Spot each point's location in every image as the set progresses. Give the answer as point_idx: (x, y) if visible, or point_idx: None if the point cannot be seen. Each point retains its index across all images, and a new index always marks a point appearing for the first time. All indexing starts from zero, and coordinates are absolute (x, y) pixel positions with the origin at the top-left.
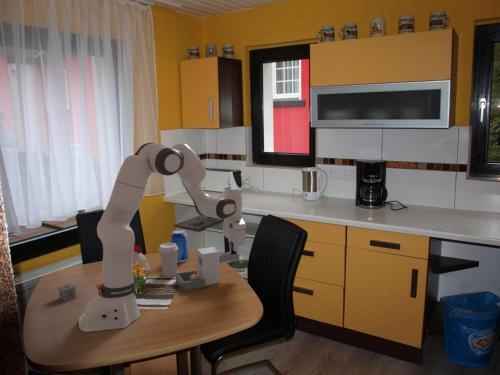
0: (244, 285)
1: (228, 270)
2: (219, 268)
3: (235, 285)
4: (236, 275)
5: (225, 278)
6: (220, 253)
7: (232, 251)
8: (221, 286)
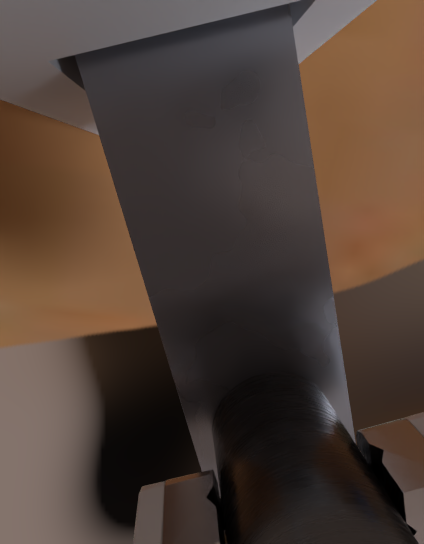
0: (15, 338)
1: (374, 247)
2: (54, 115)
3: (21, 267)
4: None
5: None
6: (302, 158)
7: (226, 430)
8: (8, 138)
